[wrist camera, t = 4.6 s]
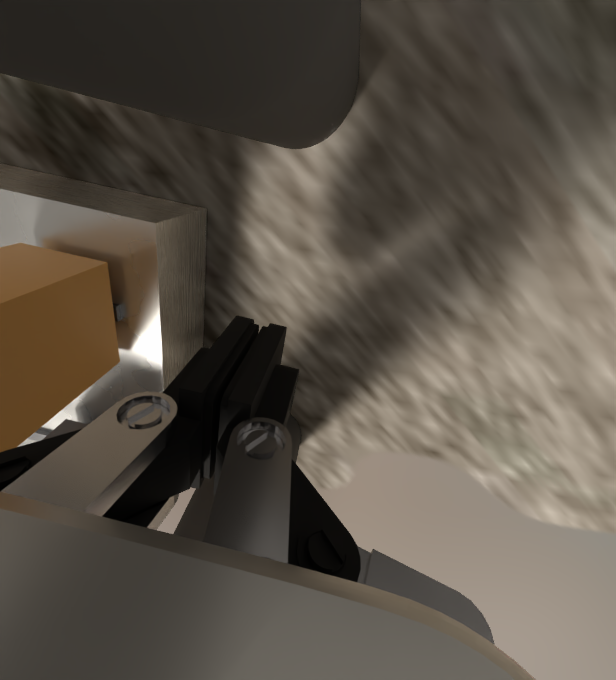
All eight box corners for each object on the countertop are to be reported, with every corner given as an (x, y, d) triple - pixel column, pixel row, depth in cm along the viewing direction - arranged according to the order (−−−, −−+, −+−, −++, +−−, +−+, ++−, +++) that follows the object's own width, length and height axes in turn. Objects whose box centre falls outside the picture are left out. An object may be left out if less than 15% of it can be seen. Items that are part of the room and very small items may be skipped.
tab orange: (107, 262, 11) (-69, 329, 6) (119, 361, 13) (-7, 466, 8) (20, 242, 11) (-213, 295, 6) (46, 344, 13) (-117, 438, 8)
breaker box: (207, 208, 14) (151, 224, 10) (200, 439, 20) (166, 499, 17) (-60, 149, 14) (-211, 144, 10) (22, 396, 21) (-51, 446, 17)
